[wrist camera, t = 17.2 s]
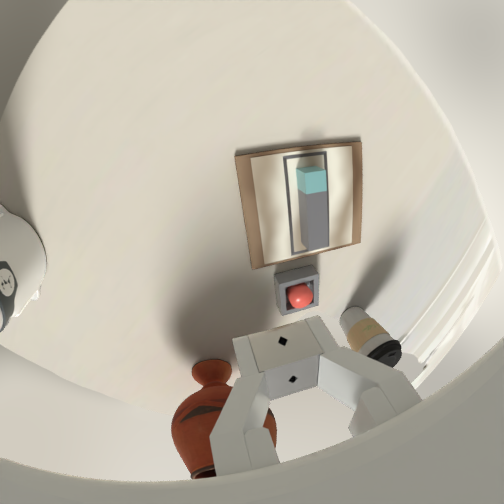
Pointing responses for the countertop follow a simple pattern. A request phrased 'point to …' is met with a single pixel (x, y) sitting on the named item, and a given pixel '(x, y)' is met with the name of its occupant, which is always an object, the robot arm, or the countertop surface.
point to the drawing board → (286, 199)
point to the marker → (313, 207)
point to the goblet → (205, 418)
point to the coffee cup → (369, 337)
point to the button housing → (293, 278)
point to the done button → (299, 295)
